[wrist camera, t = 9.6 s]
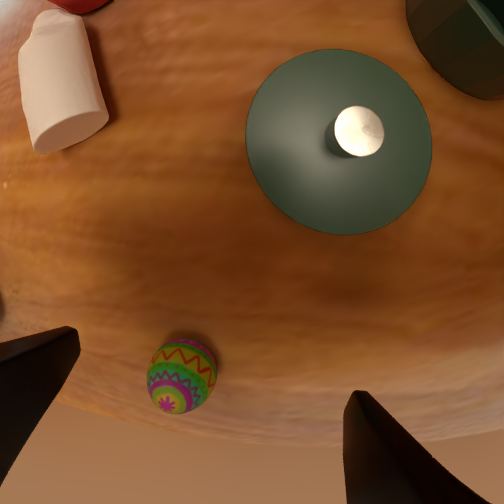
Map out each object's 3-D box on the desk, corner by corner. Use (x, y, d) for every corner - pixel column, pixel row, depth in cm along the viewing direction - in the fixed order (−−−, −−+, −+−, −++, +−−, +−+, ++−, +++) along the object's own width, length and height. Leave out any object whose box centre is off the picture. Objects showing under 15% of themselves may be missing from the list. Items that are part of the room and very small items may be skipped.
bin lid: (431, 80, 15) (468, 60, 10) (408, 245, 18) (441, 270, 13) (260, 43, 16) (249, 7, 11) (236, 215, 19) (218, 233, 14)
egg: (157, 328, 22) (121, 373, 17) (217, 330, 22) (194, 382, 16) (169, 377, 24) (143, 425, 18) (225, 381, 23) (208, 435, 17)
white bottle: (94, 2, 15) (55, -22, 10) (124, 116, 18) (74, 106, 13) (43, 42, 17) (1, 28, 11) (65, 153, 19) (13, 156, 14)
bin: (508, 14, 11) (556, -12, 4) (518, 120, 14) (583, 115, 7) (401, -36, 12) (432, -89, 5) (405, 70, 15) (458, 30, 8)
